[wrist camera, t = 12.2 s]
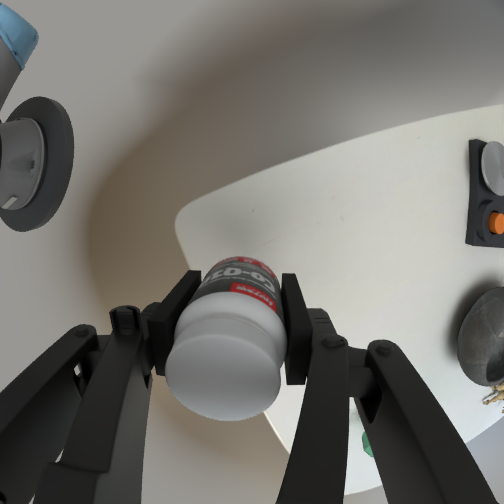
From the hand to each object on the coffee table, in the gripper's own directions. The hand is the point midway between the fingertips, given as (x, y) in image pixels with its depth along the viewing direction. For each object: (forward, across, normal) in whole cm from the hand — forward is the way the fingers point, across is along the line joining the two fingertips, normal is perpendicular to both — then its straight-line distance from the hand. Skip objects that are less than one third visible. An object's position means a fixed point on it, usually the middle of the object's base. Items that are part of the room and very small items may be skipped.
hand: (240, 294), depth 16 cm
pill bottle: (+1, 0, 0) cm, 1 cm away
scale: (+14, +34, +8) cm, 37 cm away
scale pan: (+10, +31, +12) cm, 35 cm away
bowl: (+14, +36, -11) cm, 40 cm away
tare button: (+11, +31, +5) cm, 33 cm away
